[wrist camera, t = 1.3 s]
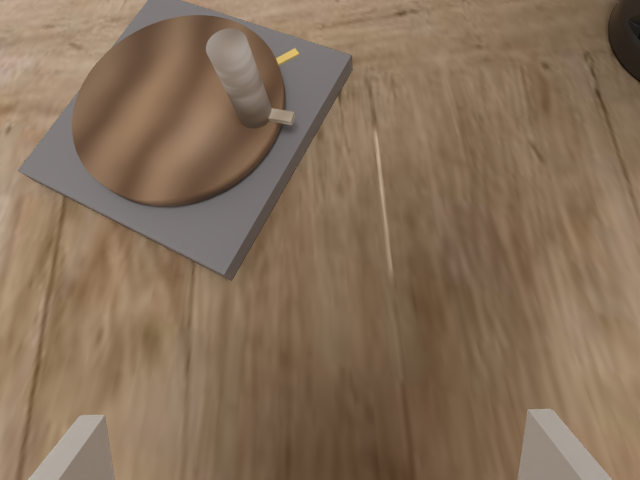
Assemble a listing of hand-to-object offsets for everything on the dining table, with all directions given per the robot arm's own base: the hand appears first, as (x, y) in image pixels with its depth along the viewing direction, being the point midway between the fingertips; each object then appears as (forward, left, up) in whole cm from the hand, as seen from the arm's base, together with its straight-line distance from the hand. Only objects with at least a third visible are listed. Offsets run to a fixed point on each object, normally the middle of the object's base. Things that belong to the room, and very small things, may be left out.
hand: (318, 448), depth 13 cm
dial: (-17, -26, -18) cm, 36 cm away
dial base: (-17, -26, -20) cm, 37 cm away
